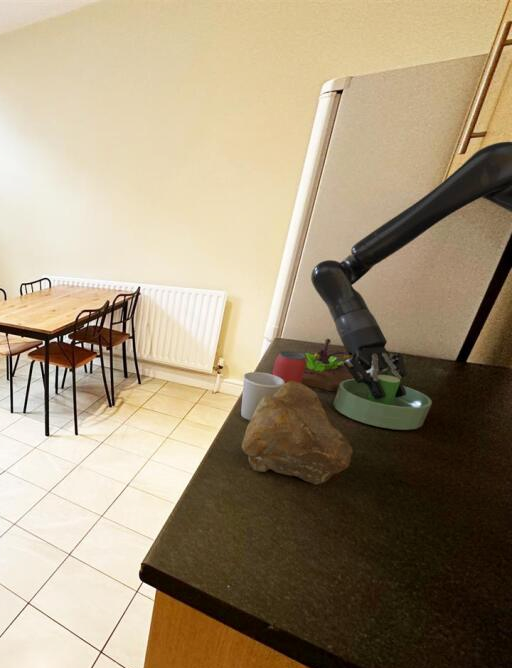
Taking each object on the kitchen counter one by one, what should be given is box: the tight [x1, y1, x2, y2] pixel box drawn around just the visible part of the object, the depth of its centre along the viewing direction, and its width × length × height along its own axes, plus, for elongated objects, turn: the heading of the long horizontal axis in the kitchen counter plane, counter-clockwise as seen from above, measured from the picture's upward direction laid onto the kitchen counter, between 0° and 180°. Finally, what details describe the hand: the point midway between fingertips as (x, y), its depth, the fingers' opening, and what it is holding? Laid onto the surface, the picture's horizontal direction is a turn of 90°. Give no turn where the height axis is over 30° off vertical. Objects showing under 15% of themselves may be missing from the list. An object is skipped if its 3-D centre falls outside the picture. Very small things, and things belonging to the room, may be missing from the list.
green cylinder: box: [367, 374, 402, 405], centre depth 97 cm, size 4×4×9 cm
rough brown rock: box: [241, 381, 354, 485], centre depth 79 cm, size 23×17×15 cm
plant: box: [301, 338, 362, 393], centre depth 118 cm, size 20×20×11 cm
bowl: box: [333, 379, 433, 431], centre depth 98 cm, size 16×16×6 cm
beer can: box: [271, 350, 307, 387], centre depth 107 cm, size 7×7×12 cm
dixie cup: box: [240, 371, 285, 421], centre depth 98 cm, size 8×8×10 cm
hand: (390, 396), depth 95 cm, fingers open, 4 cm apart
